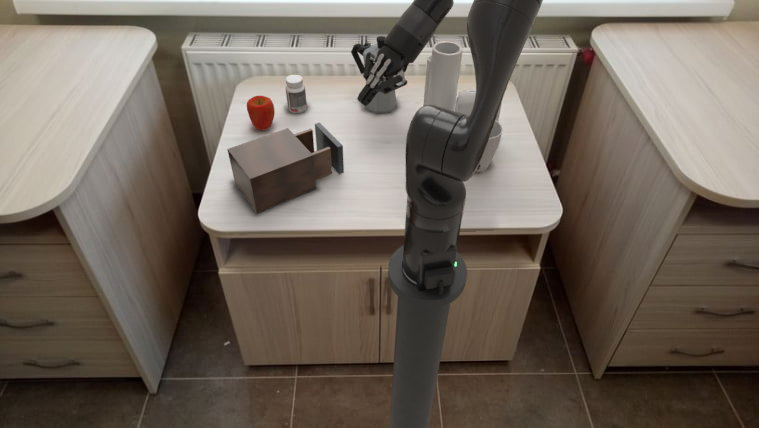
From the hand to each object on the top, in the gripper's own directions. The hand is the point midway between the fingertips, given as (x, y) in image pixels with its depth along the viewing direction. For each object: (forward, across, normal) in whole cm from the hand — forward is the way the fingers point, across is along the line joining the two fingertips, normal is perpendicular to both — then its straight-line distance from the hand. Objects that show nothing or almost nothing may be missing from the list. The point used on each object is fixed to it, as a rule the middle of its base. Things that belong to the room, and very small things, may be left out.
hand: (361, 102), depth 115 cm
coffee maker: (0, -15, +19) cm, 25 cm away
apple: (+20, -21, -1) cm, 29 cm away
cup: (-4, +18, +23) cm, 29 cm away
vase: (-7, -1, +26) cm, 26 cm away
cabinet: (+25, 0, -6) cm, 25 cm away
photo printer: (-8, +9, +28) cm, 30 cm away
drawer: (+18, 0, -1) cm, 18 cm away
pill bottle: (+12, -24, +6) cm, 28 cm away
